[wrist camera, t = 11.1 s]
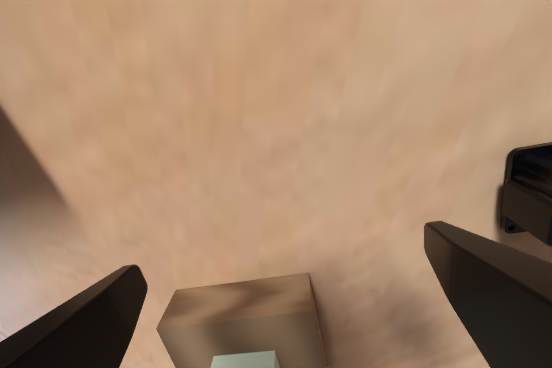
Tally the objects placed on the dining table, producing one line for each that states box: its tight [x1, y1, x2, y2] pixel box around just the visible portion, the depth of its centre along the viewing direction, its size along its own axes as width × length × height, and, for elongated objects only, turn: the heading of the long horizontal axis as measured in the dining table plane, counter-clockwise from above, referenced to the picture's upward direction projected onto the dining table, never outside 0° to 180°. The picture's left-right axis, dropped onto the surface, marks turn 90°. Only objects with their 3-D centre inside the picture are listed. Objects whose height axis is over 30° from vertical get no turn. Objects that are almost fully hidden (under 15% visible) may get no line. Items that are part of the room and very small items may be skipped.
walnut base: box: [156, 273, 327, 368], centre depth 25 cm, size 12×12×4 cm
